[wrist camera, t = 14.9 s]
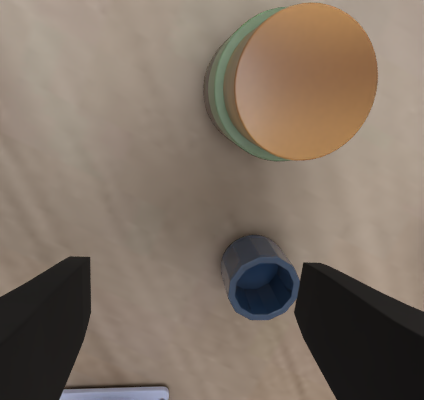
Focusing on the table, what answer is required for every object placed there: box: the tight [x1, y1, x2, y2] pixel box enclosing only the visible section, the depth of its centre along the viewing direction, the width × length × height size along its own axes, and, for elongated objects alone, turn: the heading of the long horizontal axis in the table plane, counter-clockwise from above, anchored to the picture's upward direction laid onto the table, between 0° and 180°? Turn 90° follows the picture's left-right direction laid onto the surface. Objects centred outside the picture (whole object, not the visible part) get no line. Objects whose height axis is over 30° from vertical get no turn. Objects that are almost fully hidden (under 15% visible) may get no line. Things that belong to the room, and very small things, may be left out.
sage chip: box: [208, 7, 290, 161], centre depth 16 cm, size 6×6×2 cm
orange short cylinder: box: [223, 3, 378, 160], centre depth 13 cm, size 5×5×3 cm
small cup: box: [221, 235, 300, 320], centre depth 21 cm, size 4×4×3 cm
